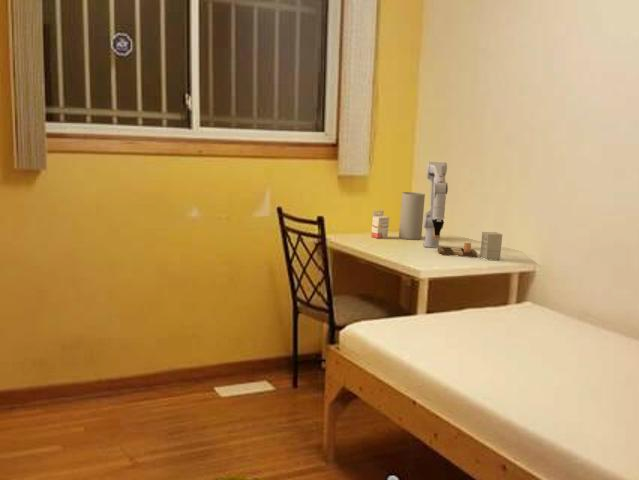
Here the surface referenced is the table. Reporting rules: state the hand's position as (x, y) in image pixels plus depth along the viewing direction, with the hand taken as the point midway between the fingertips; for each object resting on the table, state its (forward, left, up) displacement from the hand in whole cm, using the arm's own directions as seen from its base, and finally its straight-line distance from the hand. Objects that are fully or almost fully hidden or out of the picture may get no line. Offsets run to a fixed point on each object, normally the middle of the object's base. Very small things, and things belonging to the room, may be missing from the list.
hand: (436, 234), depth 333 cm
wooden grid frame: (0, +10, -9) cm, 14 cm away
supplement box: (+7, +25, -9) cm, 28 cm away
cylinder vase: (-43, -11, -9) cm, 45 cm away
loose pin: (0, 0, -2) cm, 2 cm away
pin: (+3, +15, -9) cm, 18 cm away
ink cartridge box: (-37, -28, -9) cm, 47 cm away
